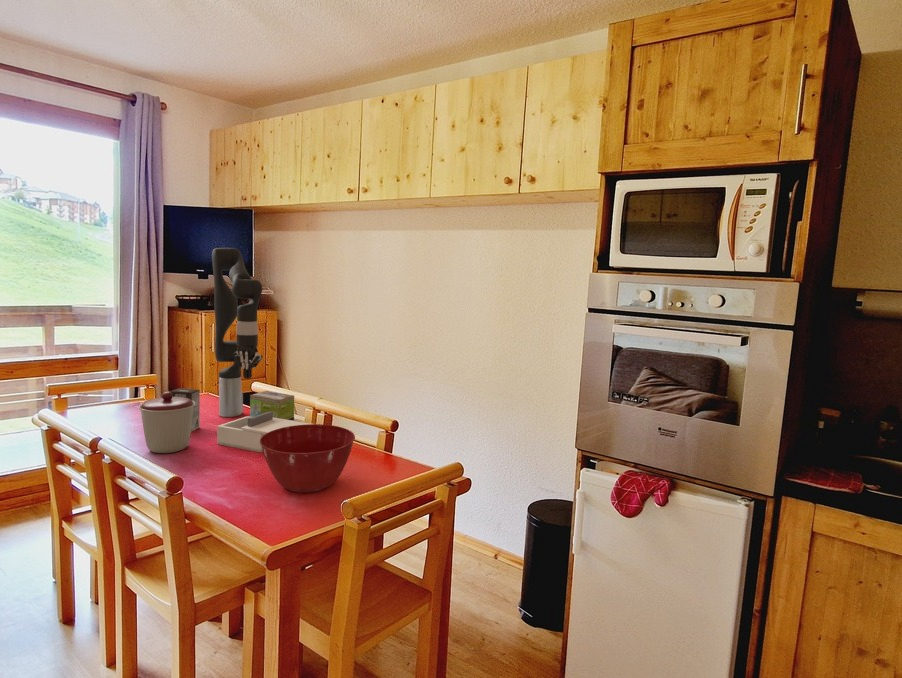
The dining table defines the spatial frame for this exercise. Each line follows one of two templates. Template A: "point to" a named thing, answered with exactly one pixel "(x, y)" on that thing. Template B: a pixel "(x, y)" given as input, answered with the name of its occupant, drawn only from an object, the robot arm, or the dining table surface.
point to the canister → (167, 422)
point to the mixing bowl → (307, 455)
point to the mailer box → (239, 435)
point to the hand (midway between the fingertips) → (247, 378)
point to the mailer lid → (268, 423)
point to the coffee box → (194, 396)
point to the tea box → (272, 404)
